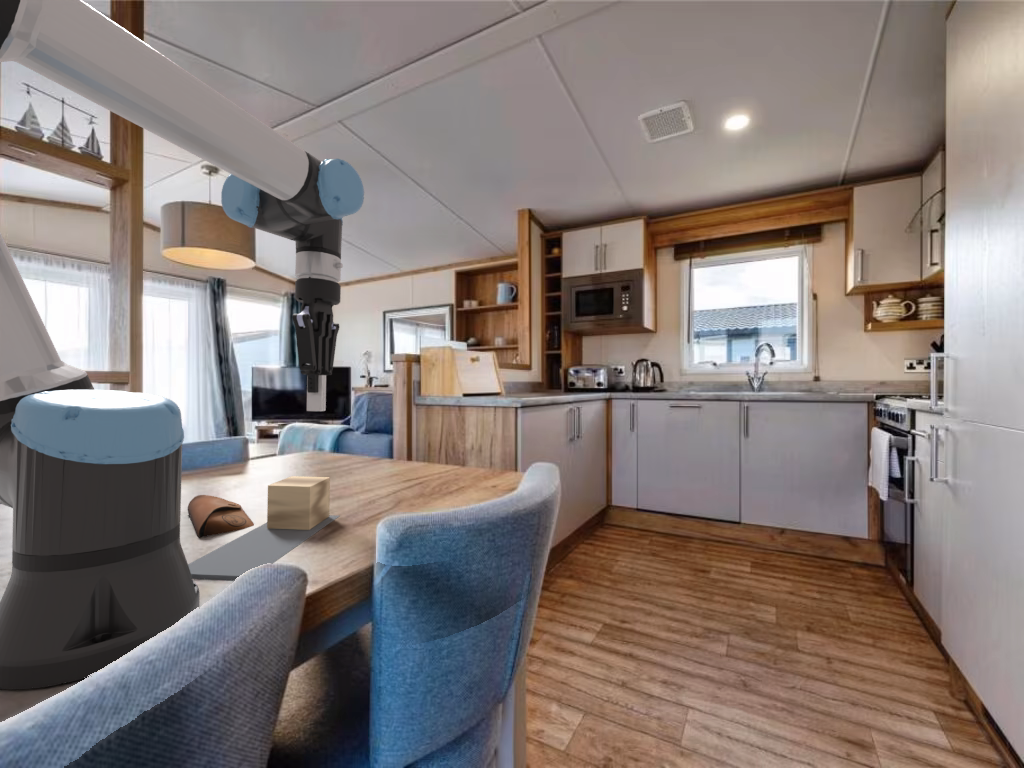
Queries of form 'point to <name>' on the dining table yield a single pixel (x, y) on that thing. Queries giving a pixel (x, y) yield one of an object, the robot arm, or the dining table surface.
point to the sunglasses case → (216, 516)
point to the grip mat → (251, 551)
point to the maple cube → (298, 502)
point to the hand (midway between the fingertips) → (316, 410)
